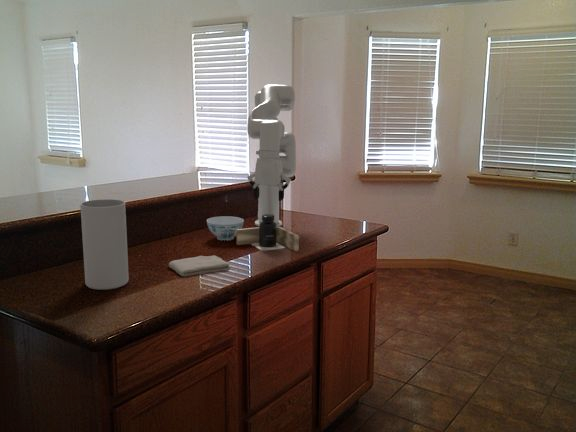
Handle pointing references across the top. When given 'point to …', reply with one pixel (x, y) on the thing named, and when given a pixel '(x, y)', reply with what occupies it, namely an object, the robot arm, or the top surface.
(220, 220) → the chinaware
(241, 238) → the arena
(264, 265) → the top surface
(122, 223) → the cylinder vase
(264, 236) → the supplement bottle
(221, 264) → the washcloth
